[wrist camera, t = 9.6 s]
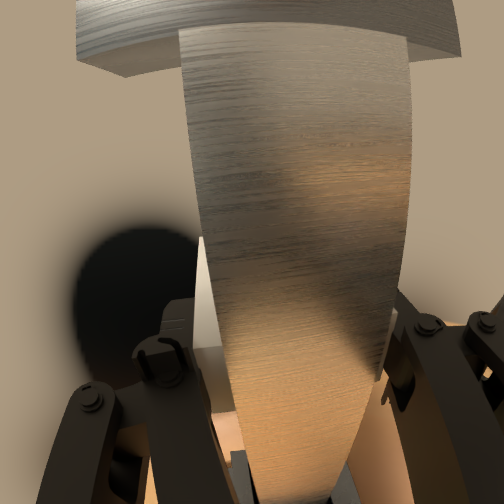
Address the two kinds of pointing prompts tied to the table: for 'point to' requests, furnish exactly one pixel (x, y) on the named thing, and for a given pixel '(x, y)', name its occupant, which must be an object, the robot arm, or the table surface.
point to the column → (291, 197)
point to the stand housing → (341, 499)
